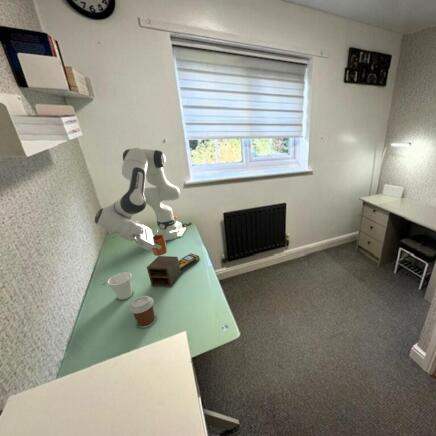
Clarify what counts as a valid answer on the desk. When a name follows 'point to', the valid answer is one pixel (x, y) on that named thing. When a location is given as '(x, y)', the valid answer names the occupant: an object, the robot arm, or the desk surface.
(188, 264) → the electronic device
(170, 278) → the shelf
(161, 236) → the tumbler
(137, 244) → the robot arm
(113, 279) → the cup
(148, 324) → the coffee cup
